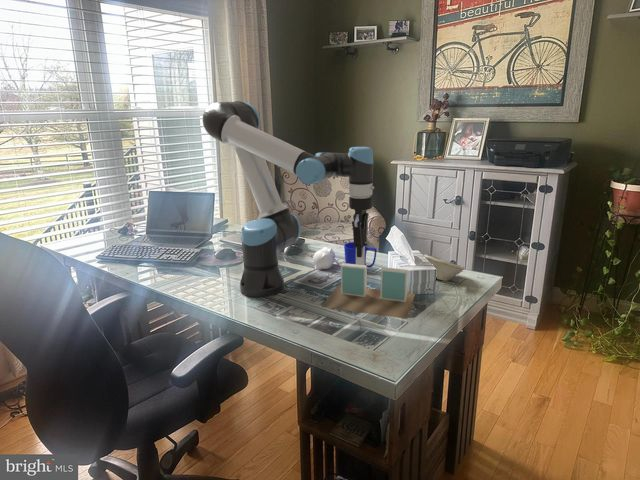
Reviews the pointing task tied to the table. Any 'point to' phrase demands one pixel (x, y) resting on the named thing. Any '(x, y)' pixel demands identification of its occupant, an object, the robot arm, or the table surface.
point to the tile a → (354, 279)
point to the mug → (351, 254)
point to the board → (369, 303)
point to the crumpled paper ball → (324, 258)
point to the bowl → (444, 268)
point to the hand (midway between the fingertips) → (360, 264)
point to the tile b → (394, 284)
